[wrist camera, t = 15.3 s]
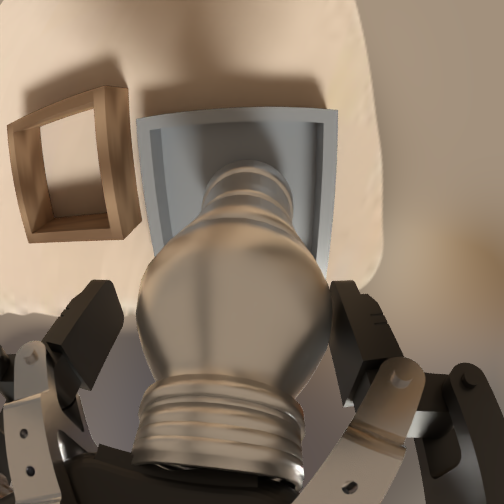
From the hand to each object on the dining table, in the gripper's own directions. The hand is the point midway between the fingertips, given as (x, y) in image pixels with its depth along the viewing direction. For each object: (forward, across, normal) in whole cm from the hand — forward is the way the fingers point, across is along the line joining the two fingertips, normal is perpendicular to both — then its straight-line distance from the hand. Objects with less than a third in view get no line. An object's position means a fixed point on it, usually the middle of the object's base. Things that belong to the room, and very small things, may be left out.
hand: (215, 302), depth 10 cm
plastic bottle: (+14, -1, 0) cm, 14 cm away
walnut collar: (+14, +15, -4) cm, 21 cm away
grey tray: (+14, 0, 0) cm, 14 cm away
